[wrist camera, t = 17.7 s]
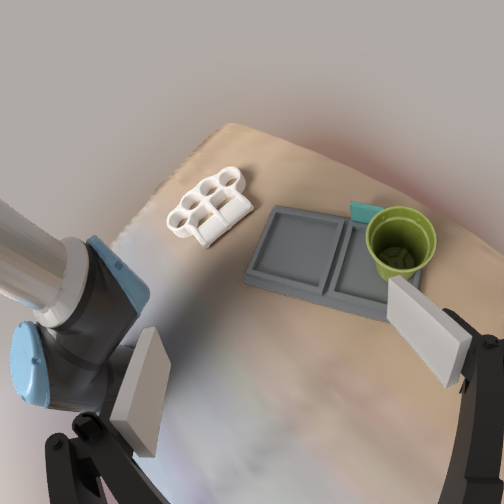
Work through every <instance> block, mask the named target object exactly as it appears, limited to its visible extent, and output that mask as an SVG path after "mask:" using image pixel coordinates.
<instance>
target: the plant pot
mask: <svg viewBox="0 0 504 504" xmlns="http://www.w3.org/2000/svg"><path fill="white" fill-rule="evenodd" d="M366 244H367V247H368V250H369V252H370V254H371V255H372V257H373V258H374V259H375V263H376V268H377V272H378V274H379V276H380V277H381V278H382V279H384V280H385V281H387V282H388V281H389V278H391V277H394V276H398V275H400V276H401V277H403V278H404V279H405V280H406V281H408V280H409V279H410V278H411V277H412V276H413V274H414V273H415V272H416V271H417V270H418V269H420V268H422V267H424V266H425V265H426V264H427V263H428V262H429V261H430V260H431V258H432V257H433V255H434V253H435V250H436V244H437V238H436V233H435V230H434V228H433V226H432V224H431V222H430V221H429V220H428V218H427V217H426V216H424V215H423V214H422V213H420V212H419V211H417V210H415V209H413V208H410V207H405V206H394V207H389V208H386V209H383V210H382V211H380V212H379V213H377V214H376V215H375V216H374V217H373V218H372V219H371V221H370V222H369V224H368V226H367V230H366ZM390 250H396V252H392V253H388V252H389V251H390ZM408 258H409V259H410V261H411V263H412V266H410V265H409V261H408ZM395 263H397V266H395V265H394V264H395Z"/></svg>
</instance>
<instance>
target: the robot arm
mask: <svg viewBox="0 0 504 504" xmlns="http://www.w3.org/2000/svg"><path fill="white" fill-rule="evenodd" d="M0 294H2V295H4V296H7V297H8V298H10V299H13V300H15V301H17V302H19V303H22V304H24V305H26V306H28V307H30V308H32V309H33V312H34V315H35V317H36V319H37V323H36V324H34V323H33V322H31V321H29V322H26V321H24V322H22V323H20V324H19V325H18V327H17V328H16V330H15V332H14V335H13V339H12V343H11V351H10V368H11V375H12V380H13V384H14V386H15V389H16V391H17V393H18V394H19V396H20V397H21V398H22V399H23V400H24V401H25V402H27V403H29V404H33V405H37V406H41V407H42V408H48V409H55V410H63V411H73V412H83V413H81V414H79V415H78V416H76V418H75V419H74V420H73V423H72V429H73V431H74V432H75V433H76V434H77V435H78V438H73V439H68V437H67V436H66V435H64V434H63V433H55V434H53V435H51V436H50V437H49V438H48V439H47V441H46V443H45V459H46V472H47V483H48V491H49V498H50V504H108V503H107V500H106V497H105V493H104V490H103V486H102V483H101V479H100V476H102V478H103V480H104V481H105V483H106V484H107V486H108V488H109V489H110V491H111V493H112V494H113V496H114V497H115V499H116V500H117V502H118V503H119V504H170V503H169V502H168V500H167V499H166V498H165V497H164V496H163V495H162V494H161V493H160V491H159V490H158V489H157V488H156V487H155V486H154V484H153V483H152V482H151V481H150V479H149V478H148V477H147V476H146V474H145V473H144V472H143V471H142V469H141V468H140V467H139V465H138V464H137V463H136V462H135V460H134V459H133V458H132V456H133V451H134V452H135V453H136V454H137V455H138V456H139V457H148V458H155V454H156V447H157V441H158V435H159V428H160V422H161V417H162V411H163V405H164V400H165V394H166V389H167V384H168V379H169V373H170V368H171V363H170V360H169V358H168V356H167V353H166V351H165V348H164V346H163V344H162V341H161V339H160V336H159V334H158V331H157V329H156V326H155V327H148V328H143V330H142V332H141V335H140V337H139V340H138V342H137V345H136V347H135V349H133V348H130V347H126V346H122V345H119V344H120V342H121V341H122V339H123V338H124V337H125V335H126V334H127V332H128V331H129V330H130V328H131V327H132V325H133V324H134V323H135V321H136V320H137V319H138V318H139V317H140V315H141V311H142V310H143V308H144V307H145V305H146V303H147V302H148V300H149V298H150V290H149V288H148V286H147V285H146V284H145V283H144V282H143V281H142V280H141V279H140V278H139V277H138V276H137V275H136V274H135V273H134V272H133V271H132V270H131V269H130V268H129V267H128V266H127V265H126V264H125V263H124V262H123V261H122V260H121V259H120V258H119V257H118V256H117V255H116V254H115V253H114V252H113V251H112V250H111V249H110V248H109V247H108V246H107V245H106V244H104V242H103V241H101V239H99V238H98V237H97V236H96V235H93V236H91V238H89V239H87V241H86V244H85V243H84V242H82V241H81V240H80V239H78V238H75V237H67V238H64V239H62V240H60V241H58V240H57V239H55V238H54V237H52V236H51V235H49V234H48V233H46V232H45V231H44V230H42V229H41V228H39V227H38V226H36V225H35V224H34V223H32V222H31V221H29V220H28V219H27V218H25V217H24V216H22V215H21V214H20V213H18V212H17V211H15V210H14V209H13V208H12V207H10V206H9V205H8V204H6V203H5V202H4V201H2V200H1V199H0ZM387 319H388V320H389V321H390V323H391V324H392V325H393V326H394V327H395V328H396V329H397V331H398V332H399V333H400V334H401V335H402V336H403V338H404V339H405V340H406V341H407V342H408V343H409V345H410V346H411V347H412V348H413V349H414V350H415V352H416V353H417V354H418V355H419V356H420V358H421V359H422V360H423V361H424V362H425V364H426V365H427V366H428V367H429V368H430V370H431V371H432V372H433V373H434V375H435V376H436V377H437V378H438V379H439V381H440V382H441V383H442V384H443V386H444V387H445V388H448V387H450V386H451V385H453V384H455V383H457V382H458V380H459V377H460V374H461V373H462V375H463V376H464V377H465V379H464V381H463V384H462V387H461V389H460V392H459V394H461V392H462V399H461V407H460V414H459V420H458V426H457V432H456V437H455V442H454V447H453V452H452V456H451V460H450V464H449V468H448V472H447V476H446V479H445V483H444V486H443V489H442V492H441V496H440V499H439V502H438V504H501V499H502V494H503V489H504V483H503V480H500V479H499V473H500V466H501V458H502V449H503V438H504V339H501V340H499V339H498V338H497V337H495V336H493V335H489V334H487V335H481V334H480V333H478V332H477V331H476V330H475V329H474V328H473V327H472V326H470V325H469V324H468V323H467V322H465V320H463V319H462V318H460V316H459V315H457V314H456V313H455V312H454V311H451V310H449V309H447V308H444V309H440V308H439V307H438V306H437V305H436V304H434V303H433V302H432V301H431V300H430V299H428V298H427V297H426V296H425V295H424V294H422V293H421V292H420V291H419V290H418V289H416V288H415V287H414V286H413V285H411V284H410V283H409V282H408V281H406V280H405V279H404V278H403V277H401V276H400V275H398V276H394V277H391V278H389V281H388V305H387Z"/></svg>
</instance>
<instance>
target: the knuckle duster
mask: <svg viewBox="0 0 504 504" xmlns="http://www.w3.org/2000/svg"><path fill="white" fill-rule="evenodd" d="M234 178H238V179H237V181H236V182H235V183H234V184H232V185H230V186H226V184H227V183H228V182H229V181H230V180H231V179H234ZM215 187H218V188H217V190H216V191H215V192H214V193H213V194H211V195H209V196H207V193H208V192H209V191H210V190H211V189H212V188H215ZM245 187H246V181H245V179H244V177H243V175H242V173H241V171H240V170H239V169H238V168H236V167H226V168H223V169H222V170H221V171H220V172H219V173H218V174H216V175H214V176H211V177H207V178H205V179H203V180H201V181H200V182H199V183H198V185H197V186H196V187H195V188H193V189H192V190H190V191H188V192H187V193H186V194H185V195H184V196H183V197H182V199H181V201H180V203H179V205H178V206H177V207H176V208H175V209H174V210H173V211H171V212H170V213H169V215H168V218H167V226H168V227H169V229H170V230H171V231H172V232H174V233H175V234H176V235H177V236H178V237H181V238H185V237H188V236H190V235H194V236H195V237H196V239H197V240H198V241H199V243H200V244H201V245H202V246H203V247H204V248H205V249H206V248H208V247H209V246H210V244H211V243H213V242H214V241H215V240H216V239H217V238H219V237H220V236H221V235H222V234H223V233H225V232H226V231H227V230H230V229H231V227H232V226H233V225H234V224H236V223H237V222H238V221H239V220H240V219H242V218H243V217H244V216H245V215H246V214H248V213H249V212H251V211H253V209H254V207H253V205H252V204H251V203H250V202H249V201H248V200H247V199H246V198H245V197H244V196H243V195H242V192H243V191H244V189H245ZM229 197H230V198H232V197H234V198H233V199H232V200H231V201H229V202H228V203H227V204H226V205H225V206H223V207H222V208H221V209H220V210H217V209H216V208H217V206H218V205H219V204H221V203H222V202H223V201H224V200H226V199H227V198H229ZM199 201H201V202H200V204H199V205H198V206H197V207H196V208H194V209H192V210H190V207H191V206H192V205H193V204H194V203H196V202H199ZM209 213H214V215H212V216H211V217H210V218H209V219H208V220H207V221H205V222H204V223H203V224H202V225H201V226H199V227H198V222H199V221H200V220H201V219H203V218H204V217H205V216H206V215H207V214H209ZM185 218H188V220H187V222H186V223H185V224H184V225H183V226H182V227H180V228H177V226H178V224H179V222H180V221H181V220H183V219H185ZM197 227H198V228H197Z"/></svg>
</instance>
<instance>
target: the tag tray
mask: <svg viewBox="0 0 504 504" xmlns="http://www.w3.org/2000/svg"><path fill="white" fill-rule="evenodd" d="M350 210H351V219H350V218H345V217H340V216H334V215H329V214H323V213H318V212H312V211H306V210H300V209H294V208H288V207H282V206H276V205H275V208H274V207H273V209H272V212H271V214H270V217H269V219H268V221H267V224H266V226H265V228H264V231H263V233H262V235H261V238H260V240H259V242H258V245H257V247H256V249H255V252H254V254H253V256H252V259H251V261H250V263H249V266H248V268H247V270H246V276H245V278H244V281H243V282H244V283H245V284H248V285H252V286H255V287H258V288H262V289H265V290H269V291H272V292H275V293H279V294H282V295H286V296H289V297H293V298H296V299H300V300H304V301H307V302H311V303H314V304H318V305H322V306H325V307H329V308H333V309H336V310H340V311H344V312H347V313H351V314H355V315H359V316H363V317H366V318H370V319H374V320H378V321H382V322H386V323H390V321H389V320H388V319H387V305H388V282H387V281H385V280H384V279H382V278H381V277H380V276H379V274H378V272H377V268H376V263H375V259H374V258H373V257H372V255H371V254H370V252H369V250H368V247H367V244H366V230H367V226H368V224H369V222H370V221H371V219H372V218H373V217H374V216H375V215H376V214H377V213H379V212H380V211H382V210H383V207H379V206H373V205H368V204H363V203H357V202H351V204H350ZM392 252H396V250H390V251H389V252H388V253H392ZM408 261H409V265H410V266H412V263H411V261H410V259H409V258H408ZM394 265H395V266H397V263H395V264H394ZM421 273H422V268H420V269H418V270H417V271H416V272H415V273H414V274H413V276H412V277H411V278H410V279H409V280H408V282H409V283H410V284H411V285H413V286H414V287H415V288H416V289H418V290H419V285H420V279H421ZM390 324H391V323H390Z"/></svg>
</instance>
